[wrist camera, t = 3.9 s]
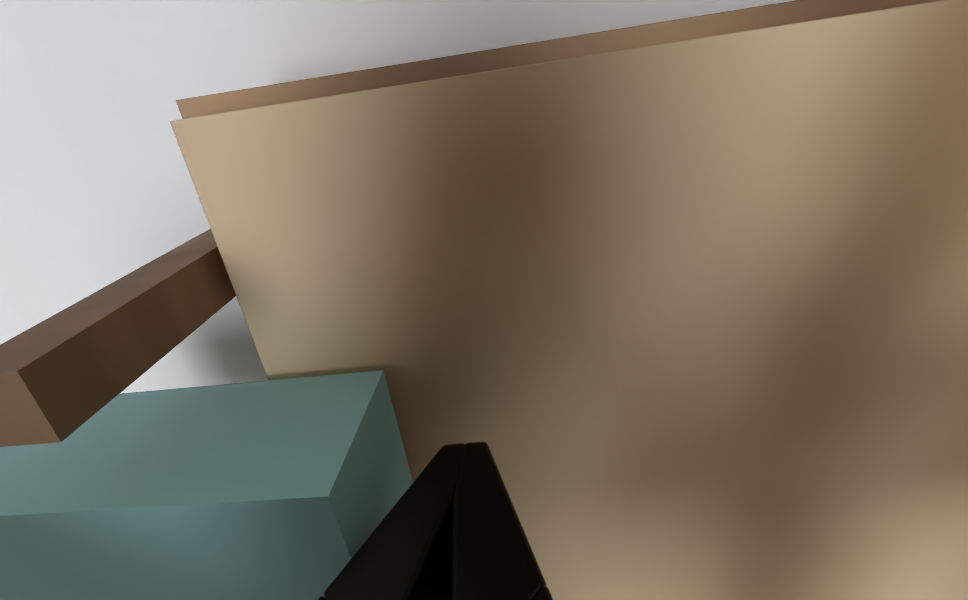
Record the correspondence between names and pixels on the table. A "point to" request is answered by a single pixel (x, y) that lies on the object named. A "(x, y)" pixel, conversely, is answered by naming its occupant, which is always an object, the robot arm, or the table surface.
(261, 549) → the teal block
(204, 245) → the toolbox
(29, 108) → the table surface
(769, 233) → the lid
